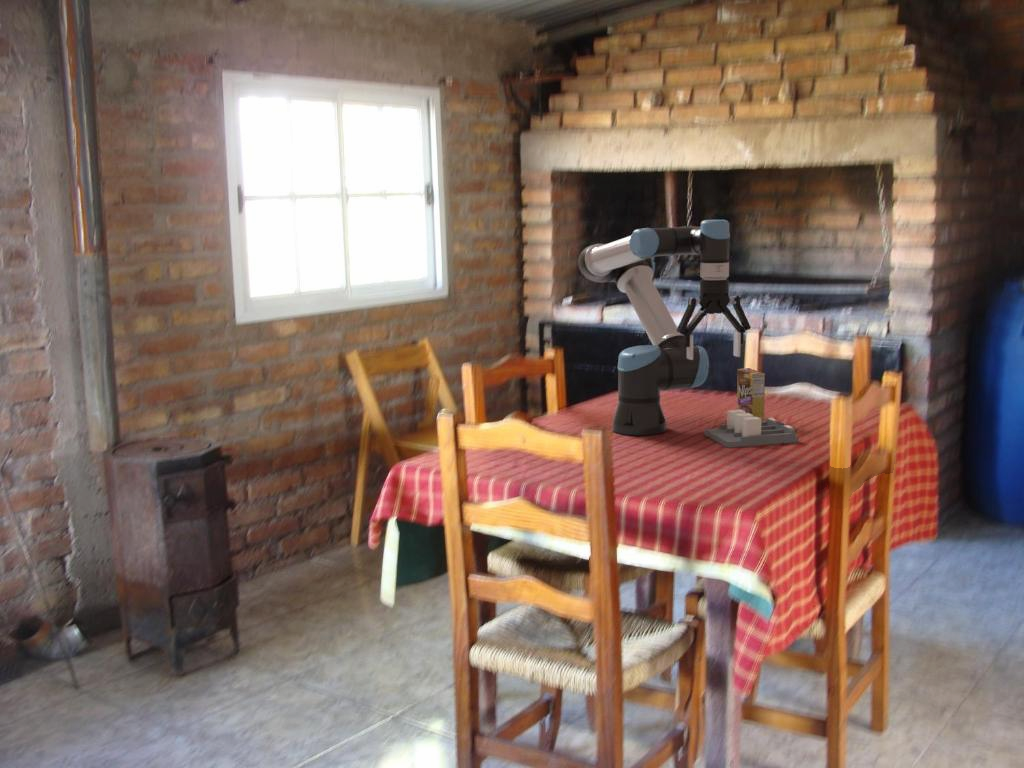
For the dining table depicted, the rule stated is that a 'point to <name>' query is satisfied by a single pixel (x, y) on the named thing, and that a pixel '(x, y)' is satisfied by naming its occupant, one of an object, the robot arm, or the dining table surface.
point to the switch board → (769, 435)
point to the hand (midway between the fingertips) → (713, 357)
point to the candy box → (751, 392)
